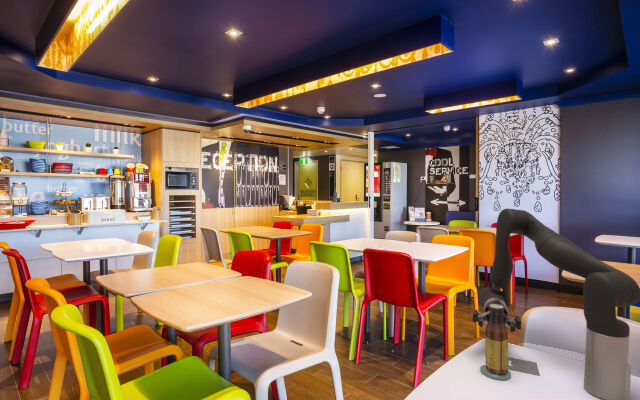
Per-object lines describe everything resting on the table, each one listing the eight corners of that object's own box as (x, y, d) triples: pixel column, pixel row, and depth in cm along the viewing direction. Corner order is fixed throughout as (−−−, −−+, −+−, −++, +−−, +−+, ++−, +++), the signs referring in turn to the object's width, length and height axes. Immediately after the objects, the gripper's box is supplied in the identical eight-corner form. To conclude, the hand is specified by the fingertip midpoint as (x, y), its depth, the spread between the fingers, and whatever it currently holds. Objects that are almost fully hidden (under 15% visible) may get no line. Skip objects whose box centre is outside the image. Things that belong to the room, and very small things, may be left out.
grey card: (536, 362, 116) (536, 362, 116) (539, 375, 108) (539, 375, 108) (488, 353, 122) (488, 353, 122) (488, 365, 114) (488, 364, 114)
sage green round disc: (510, 370, 111) (510, 368, 111) (511, 383, 104) (512, 381, 104) (480, 363, 115) (480, 362, 115) (479, 376, 107) (479, 374, 107)
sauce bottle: (502, 366, 112) (505, 303, 112) (511, 376, 106) (514, 309, 105) (481, 365, 113) (483, 302, 112) (488, 375, 107) (490, 308, 106)
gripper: (474, 297, 131) (472, 311, 116) (519, 303, 125) (523, 318, 110) (473, 318, 131) (471, 334, 116) (518, 325, 125) (522, 343, 110)
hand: (496, 326), depth 113 cm, fingers open, 8 cm apart
